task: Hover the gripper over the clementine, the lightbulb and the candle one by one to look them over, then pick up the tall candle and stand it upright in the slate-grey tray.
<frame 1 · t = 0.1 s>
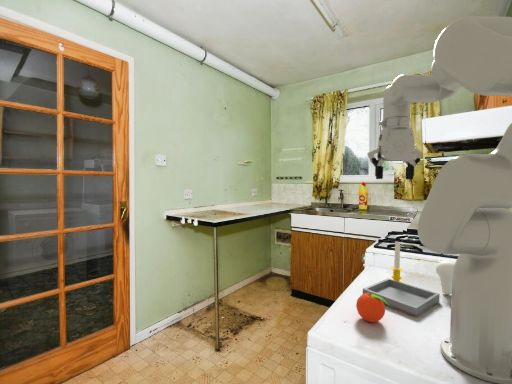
hand: (394, 179, 84), 37 cm above the counter, tool pointing down, fingers open, 9 cm apart
lightbulb: (446, 295, 84), on the counter
tray: (400, 299, 81), on the counter
clementine: (372, 321, 68), on the counter
candle: (396, 284, 93), on the counter
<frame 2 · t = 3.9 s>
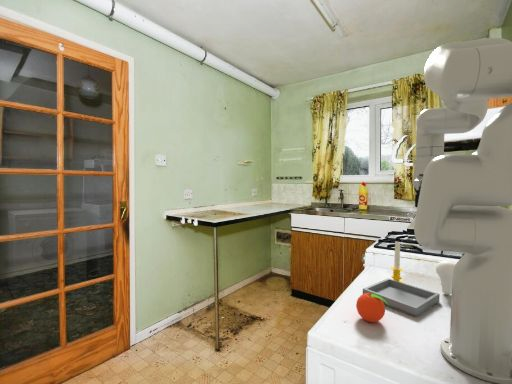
hand: (427, 206, 85), 28 cm above the counter, tool pointing down, fingers open, 9 cm apart
nothing on the counter moved.
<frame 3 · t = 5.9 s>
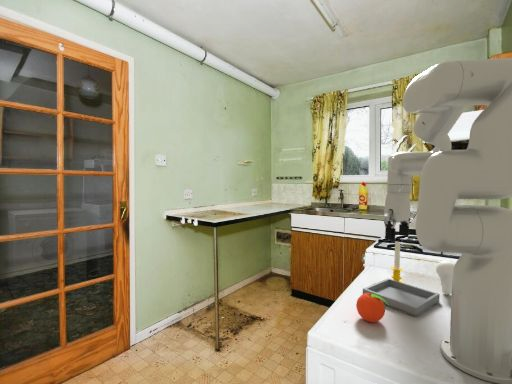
hand: (397, 237, 93), 16 cm above the counter, tool pointing down, fingers open, 9 cm apart
nothing on the counter moved.
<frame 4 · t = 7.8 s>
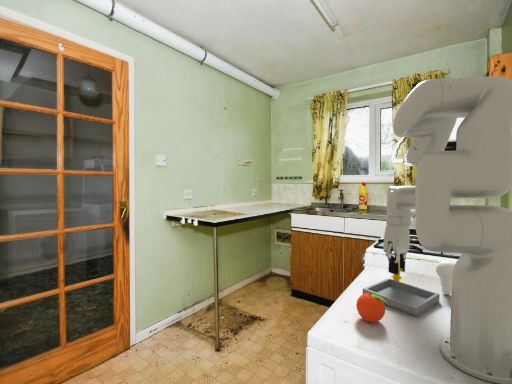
hand: (396, 271, 93), 4 cm above the counter, tool pointing down, fingers closed on candle, 3 cm apart
candle: (396, 283, 93), on the counter, touching gripper
everything else where it was.
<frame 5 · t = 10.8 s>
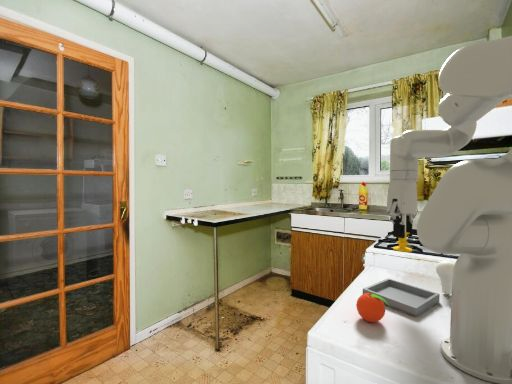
hand: (402, 236, 80), 20 cm above the counter, tool pointing down, fingers closed on candle, 3 cm apart
candle: (402, 250, 80), point 15 cm above the counter, touching gripper
everything else where it was.
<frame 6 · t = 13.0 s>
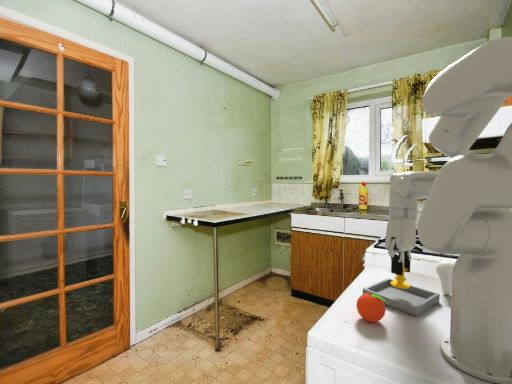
hand: (400, 271, 81), 8 cm above the counter, tool pointing down, fingers closed on candle, 3 cm apart
candle: (399, 286, 81), point 4 cm above the counter, touching gripper
everything else where it was.
when the fingers open (6 cm above the counter, at t = 13.9 s): candle drops 1 cm, resting on tray.
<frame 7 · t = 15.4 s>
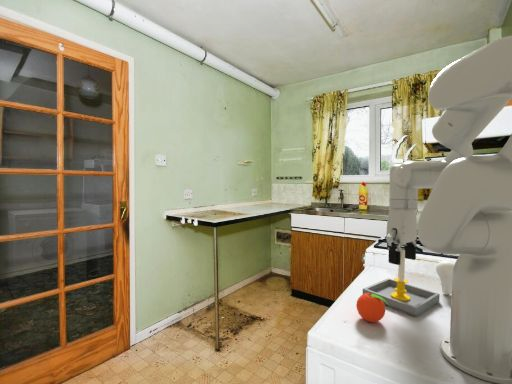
hand: (402, 261, 80), 12 cm above the counter, tool pointing down, fingers open, 9 cm apart
candle: (400, 298, 81), resting on tray
everything else where it was.
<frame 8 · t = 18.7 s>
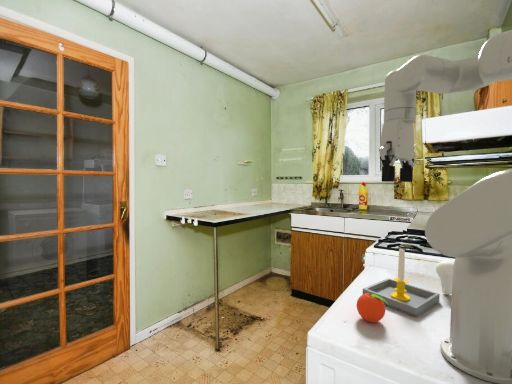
hand: (397, 181, 71), 36 cm above the counter, tool pointing down, fingers open, 9 cm apart
nothing on the counter moved.
at the end: candle inside the target area on the tray (0.1 cm from its centre), point 0.4 cm above the tray's base; candle tilted 0°; the gripper is holding nothing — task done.
